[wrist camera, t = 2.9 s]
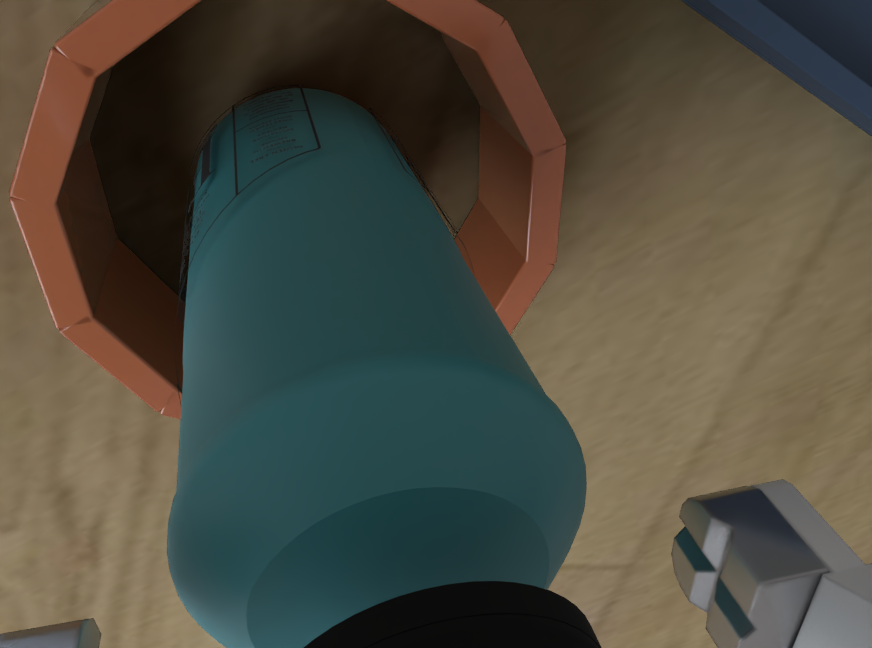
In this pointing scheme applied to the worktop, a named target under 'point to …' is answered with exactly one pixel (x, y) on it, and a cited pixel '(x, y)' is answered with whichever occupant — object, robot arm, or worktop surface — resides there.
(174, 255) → the worktop surface
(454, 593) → the beverage bottle
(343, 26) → the worktop surface
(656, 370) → the worktop surface
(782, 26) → the tray
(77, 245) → the bowl
